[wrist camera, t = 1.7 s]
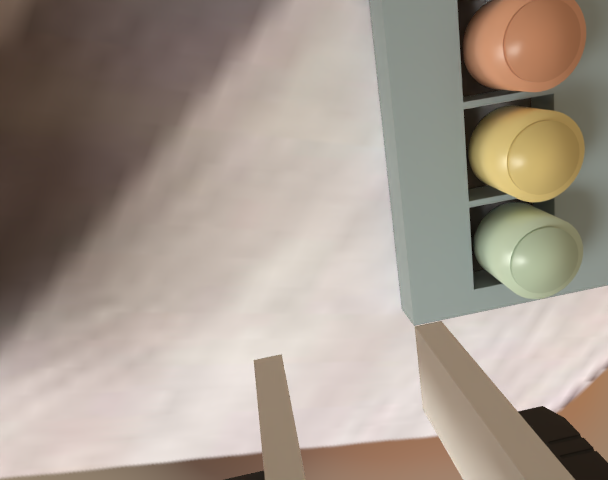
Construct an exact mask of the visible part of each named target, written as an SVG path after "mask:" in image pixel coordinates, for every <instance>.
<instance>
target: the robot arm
mask: <svg viewBox="0 0 608 480" xmlns="http://www.w3.org/2000/svg"><path fill="white" fill-rule="evenodd" d="M415 334H416V344H417V354H418V364H419V374H420V385H421V395H422V405H423V410H424V412H425V414H426V415H427V417H428V419H429V421H430V422H431V424H432V426H433V428H434V429H435V431H436V433H437V435H438V436H439V438H440V439H441V442H442V443H443V445H444V447H445V448H446V450H447V452H448V454H449V456H450V457H451V459H452V461H453V462H454V464H455V466H456V468H457V469H458V471H459V473H460V475H461V476H462V478H463V480H608V463H607V462H606V461H605V459H604V458H603V457H602V456H601V455H600V454H599V453H598V452H597V451H594V449H593V447H592V446H591V445H590V444H589V443H588V442H587V441H586V440H585V439H584V438H582V437H581V436H580V434H579V432H578V431H577V430H576V429H575V428H574V427H573V426H572V425H571V424H570V423H569V422H568V421H567V420H566V419H565V418H564V417H562V416H560V415H558V414H556V413H554V412H553V411H551V410H549V409H547V408H545V407H543V406H541V407H536V408H532V409H527V410H523V411H519V412H518V411H517V410H516V409H515V408H514V407H513V406H512V404H511V403H510V402H509V401H508V400H507V398H506V397H505V396H504V395H503V394H502V393H501V391H500V390H499V389H498V388H497V387H496V385H495V384H494V383H493V382H492V381H491V379H490V378H489V377H488V376H487V375H486V374H485V372H484V371H483V370H482V369H481V368H480V366H479V365H478V364H477V363H476V362H475V361H474V359H473V358H472V357H471V356H470V355H469V353H468V352H467V351H466V350H465V349H464V348H463V346H462V345H461V344H460V343H459V342H458V340H457V339H456V338H455V337H454V336H453V334H452V333H451V332H450V331H449V330H448V329H447V327H446V326H445V325H444V324H443V323H442V321H439V322H434V323H429V324H425V325H420V326H415ZM254 368H255V379H256V389H257V400H258V411H259V421H260V432H261V443H262V454H263V464H264V471H260V472H256V473H251V474H247V475H242V476H238V477H234V478H229V479H225V480H306V479H305V474H304V469H303V463H302V459H301V454H300V448H299V443H298V437H297V432H296V427H295V422H294V417H293V411H292V406H291V401H290V396H289V391H288V386H287V380H286V375H285V370H284V365H283V360H282V354H281V355H276V356H272V357H267V358H262V359H257V360H254Z"/></svg>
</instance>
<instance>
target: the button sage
mask: <svg viewBox="0 0 608 480" xmlns="http://www.w3.org/2000/svg"><path fill="white" fill-rule="evenodd" d="M473 248H474V254H475V257H476V259H477V261H478V263H479V264H480V265H481V266H482V267H483V268H484V269H485V270H486V271H487V272H489V273H490V274H491V275H493V276H494V277H495V278H496V279H498V280H499V281H500V282H501V283H503V284H504V285H505V286H507V287H508V288H509V289H510V290H512V291H513V292H514V293H516V294H517V295H519V296H521V297H524V298H528V299H541V298H546V297H549V296H552V295H554V294H556V293H558V292H559V291H561V290H562V289H564V288H565V287H566V286H567V285H568V284H569V283H570V282H571V281H572V280H573V278H574V277H575V276H576V274H577V272H578V270H579V268H580V266H581V263H582V258H583V243H582V240H581V237H580V235H579V233H578V231H577V230H576V229H575V228H574V227H573V226H572V225H571V224H570V223H568V222H566V221H564V220H562V219H560V218H558V217H555V216H553V215H551V214H549V213H547V212H544V211H542V210H540V209H538V208H536V207H533V206H531V205H529V204H526V203H523V202H509V203H505V204H502V205H500V206H498V207H496V208H494V209H493V210H492V211H490V212H489V213H488V214H487V215H486V216H485V217H484V218H483V219H482V221H481V222H480V224H479V226H478V227H477V230H476V232H475V236H474V242H473Z"/></svg>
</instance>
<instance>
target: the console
mask: <svg viewBox="0 0 608 480" xmlns="http://www.w3.org/2000/svg"><path fill="white" fill-rule="evenodd" d="M457 1H458V0H369V4H370V14H371V23H372V32H373V42H374V51H375V61H376V70H377V79H378V89H379V98H380V108H381V117H382V126H383V136H384V145H385V155H386V164H387V173H388V183H389V192H390V202H391V211H392V220H393V230H394V239H395V249H396V258H397V267H398V277H399V286H400V296H401V305H402V310H403V311H404V313H405V314H406V315H407V317H408V318H409V319H410V321H411V322H412V324H413V325H414V326H415V325H420V324H425V323H430V322H434V321H439V320H444V319H449V318H454V317H458V316H463V315H468V314H473V313H478V312H482V311H487V310H492V309H497V308H501V307H506V306H511V305H516V304H521V303H525V302H530V301H535V300H540V299H528V298H524V297H521V296H519V295H517V294H516V293H514V292H513V291H512V290H510V289H509V288H508V287H507V286H505V285H504V284H503V283H501V282H500V281H499V280H498V279H496V278H495V277H494V276H493V275H491V274H490V273H489V272H487V271H486V270H481V271H476V272H473V266H472V248H471V231H470V214H469V208H470V207H475V206H481V205H486V204H491V203H496V202H501V201H507V200H512V199H517V198H515V197H513V196H511V195H509V194H507V193H504V192H502V191H500V190H498V189H496V188H493V187H491V186H489V185H488V186H482V187H477V188H472V189H468V179H467V162H466V144H465V127H464V109H469V108H474V107H480V106H486V105H491V104H497V103H503V102H508V101H514V100H520V99H525V98H531V108H537V109H545V110H552V111H558V112H561V113H563V114H565V115H567V116H569V117H570V118H571V119H573V120H574V121H575V123H576V124H577V125H578V127H579V128H580V130H581V132H582V135H583V138H584V145H585V153H584V159H583V163H582V166H581V169H580V171H579V173H578V175H577V177H576V178H575V180H574V181H573V182H572V184H571V185H570V186H569V187H568V188H567V189H566V190H565V191H563V192H562V193H561V194H559V195H558V196H556V197H554V198H552V199H549V200H546V201H542V202H533V207H536V208H538V209H540V210H542V211H544V212H547V213H549V214H551V215H553V216H555V217H558V218H560V219H562V220H564V221H566V222H568V223H570V224H571V225H572V226H573V227H574V228H575V229H576V230H577V231H578V233H579V235H580V237H581V240H582V243H583V258H582V263H581V266H580V268H579V270H578V272H577V274H576V276H575V277H574V278H573V280H572V281H571V282H570V283H569V284H568V285H567V286H566V287H565V288H564V289H562V290H561V291H559V292H558V293H556V294H554V295H552V296H549V297H554V296H559V295H564V294H568V293H573V292H578V291H583V290H588V289H592V288H597V287H602V286H607V285H608V0H575V1H576V2H577V4H578V5H579V7H580V8H581V11H582V13H583V15H584V19H585V23H586V42H585V48H584V51H583V54H582V56H581V59H580V61H579V63H578V65H577V66H576V68H575V69H574V71H573V72H572V73H571V74H570V75H569V76H568V77H567V78H566V79H565V80H564V81H563V82H561V83H560V84H559V85H557V86H555V87H553V88H551V89H549V90H546V91H542V92H522V91H510V90H499V91H493V92H488V93H482V94H476V95H471V96H465V97H463V92H462V75H461V57H460V40H459V23H458V5H457ZM549 297H546V298H549ZM541 299H545V298H541Z"/></svg>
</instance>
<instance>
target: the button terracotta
mask: <svg viewBox="0 0 608 480" xmlns="http://www.w3.org/2000/svg"><path fill="white" fill-rule="evenodd" d="M585 42H586V23H585V19H584V15H583V13H582V11H581V8H580V7H579V5H578V4H577V2H576V1H575V0H492V1H490V2H488V3H486V4H485V5H484V6H482V7H481V8H480V9H479V10H478V11H477V12H476V13H475V14H474V15H473V17H472V18H471V20H470V21H469V23H468V25H467V28H466V30H465V33H464V37H463V44H462V52H463V59H464V63H465V66H466V68H467V70H468V72H469V73H470V75H471V76H472V77H473V78H474V79H475V80H476V81H477V82H478V83H480V84H481V85H483V86H485V87H488V88H491V89H499V90H510V91H522V92H542V91H546V90H549V89H551V88H553V87H555V86H557V85H559V84H560V83H561V82H563V81H564V80H565V79H566V78H567V77H568V76H569V75H570V74H571V73H572V72H573V71H574V69H575V68H576V66H577V65H578V63H579V61H580V59H581V56H582V54H583V51H584V48H585Z"/></svg>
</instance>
